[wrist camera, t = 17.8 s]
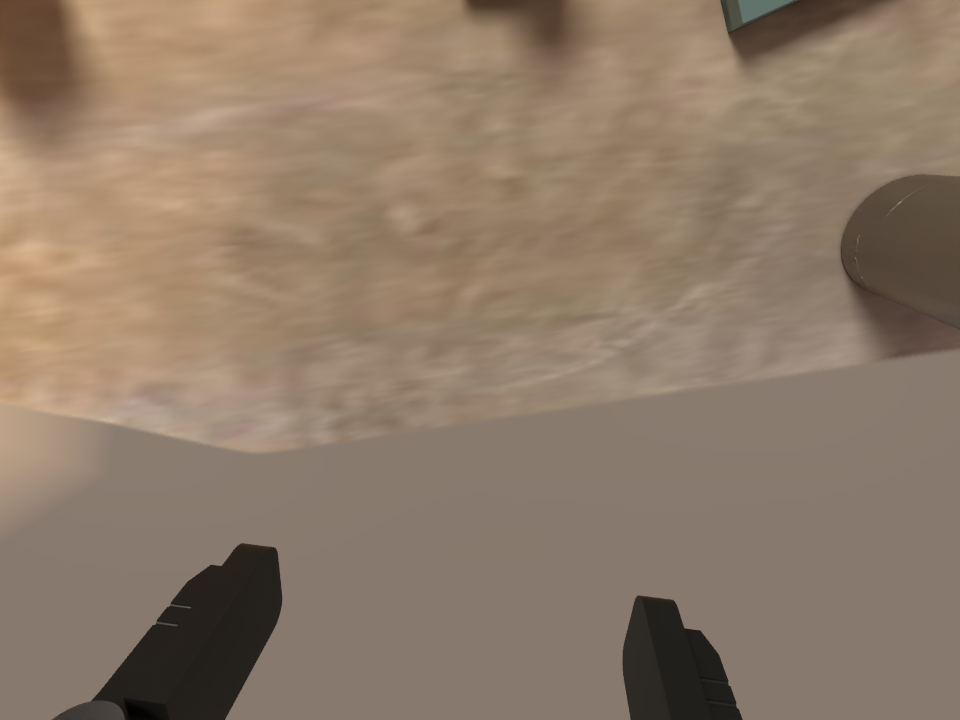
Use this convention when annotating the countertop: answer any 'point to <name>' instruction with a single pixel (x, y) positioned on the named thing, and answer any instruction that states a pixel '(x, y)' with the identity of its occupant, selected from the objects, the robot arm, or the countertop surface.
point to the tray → (749, 11)
